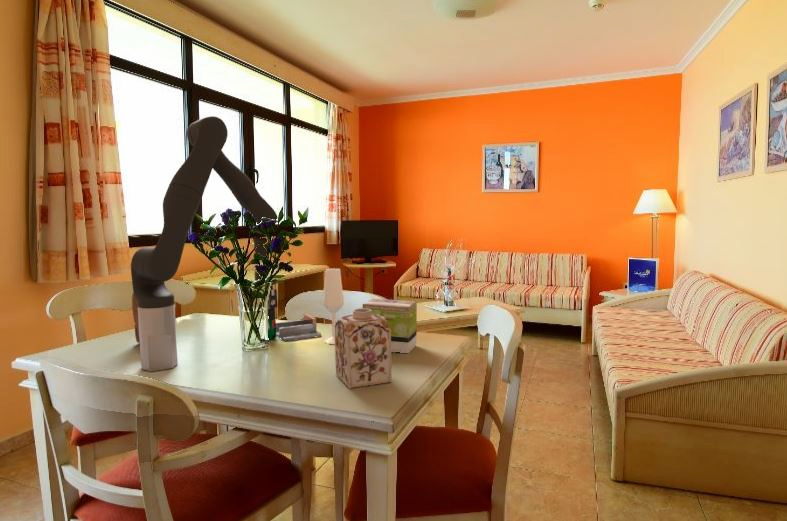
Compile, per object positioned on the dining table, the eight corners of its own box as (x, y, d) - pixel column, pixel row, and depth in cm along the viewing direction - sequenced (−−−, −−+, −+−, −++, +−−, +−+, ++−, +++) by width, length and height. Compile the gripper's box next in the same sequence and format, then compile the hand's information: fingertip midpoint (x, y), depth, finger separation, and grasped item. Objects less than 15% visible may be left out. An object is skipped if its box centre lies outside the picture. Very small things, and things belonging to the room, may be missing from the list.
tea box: (361, 350, 153) (361, 303, 152) (372, 342, 163) (372, 297, 161) (409, 354, 149) (408, 305, 147) (417, 345, 158) (417, 300, 157)
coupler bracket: (321, 336, 171) (320, 320, 170) (284, 341, 164) (283, 325, 164) (303, 326, 186) (302, 311, 186) (268, 330, 180) (268, 315, 179)
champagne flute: (347, 343, 162) (346, 269, 159) (327, 345, 159) (325, 271, 157) (340, 338, 168) (339, 267, 165) (321, 340, 165) (319, 268, 163)
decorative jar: (376, 369, 135) (375, 304, 133) (393, 382, 125) (392, 312, 123) (334, 375, 131) (332, 307, 129) (347, 389, 120) (345, 316, 118)
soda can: (257, 339, 167) (256, 304, 166) (269, 336, 171) (267, 302, 170) (268, 341, 164) (266, 306, 163) (279, 338, 168) (278, 303, 167)
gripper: (283, 271, 161) (285, 320, 163) (270, 266, 173) (272, 312, 175) (260, 273, 157) (262, 323, 159) (249, 268, 170) (251, 315, 171)
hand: (268, 317), depth 167 cm, fingers open, 8 cm apart
